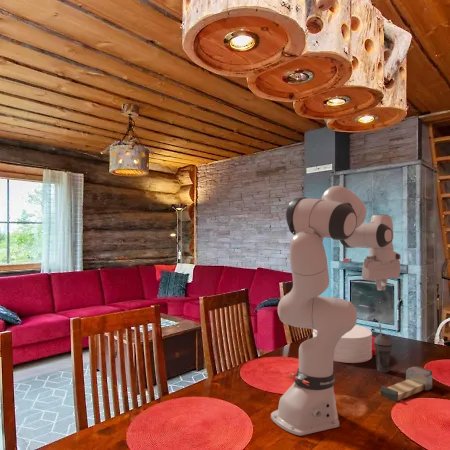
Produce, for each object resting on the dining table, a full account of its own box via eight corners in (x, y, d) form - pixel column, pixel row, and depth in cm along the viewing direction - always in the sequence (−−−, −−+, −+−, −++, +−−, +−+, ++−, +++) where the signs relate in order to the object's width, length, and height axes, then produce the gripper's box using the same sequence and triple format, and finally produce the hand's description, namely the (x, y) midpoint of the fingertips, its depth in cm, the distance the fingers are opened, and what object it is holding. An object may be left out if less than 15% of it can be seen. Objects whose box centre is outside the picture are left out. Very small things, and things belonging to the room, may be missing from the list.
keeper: (426, 390, 138) (426, 374, 138) (405, 382, 145) (405, 367, 145) (432, 388, 140) (432, 372, 140) (411, 380, 147) (411, 365, 147)
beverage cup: (393, 374, 153) (393, 327, 154) (375, 372, 155) (375, 326, 155) (389, 368, 160) (389, 322, 161) (372, 366, 162) (372, 321, 162)
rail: (396, 401, 129) (396, 384, 129) (380, 395, 134) (380, 378, 134) (432, 386, 142) (432, 370, 142) (416, 380, 147) (416, 366, 147)
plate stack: (310, 342, 196) (310, 321, 197) (364, 345, 193) (364, 323, 193) (316, 361, 169) (316, 336, 169) (379, 364, 165) (379, 339, 165)
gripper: (372, 256, 136) (372, 293, 136) (403, 255, 147) (403, 289, 147) (357, 255, 142) (357, 291, 141) (389, 254, 153) (389, 287, 152)
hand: (381, 290), depth 144 cm, fingers closed
